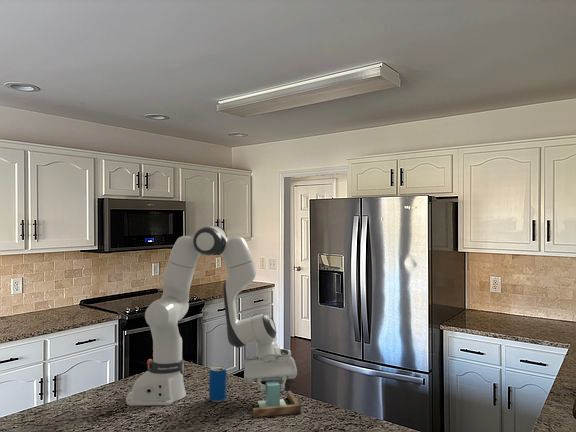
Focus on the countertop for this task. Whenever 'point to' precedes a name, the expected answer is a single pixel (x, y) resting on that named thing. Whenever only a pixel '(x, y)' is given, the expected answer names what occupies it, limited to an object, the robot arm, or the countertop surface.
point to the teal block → (272, 393)
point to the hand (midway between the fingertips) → (273, 390)
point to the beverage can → (217, 384)
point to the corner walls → (279, 408)
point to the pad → (263, 404)
